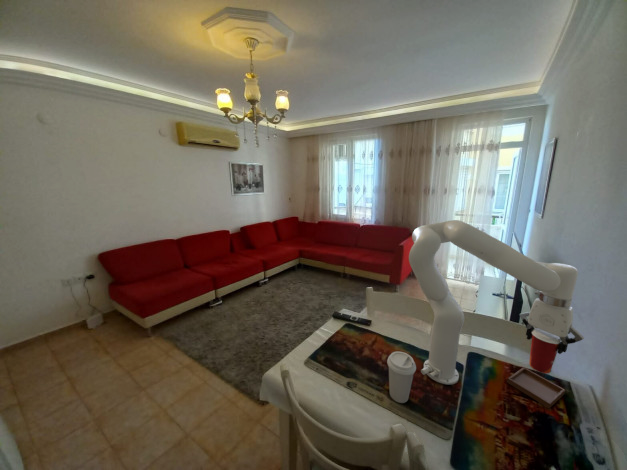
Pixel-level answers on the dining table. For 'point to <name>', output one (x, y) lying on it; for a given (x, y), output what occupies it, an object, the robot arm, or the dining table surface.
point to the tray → (536, 387)
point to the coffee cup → (400, 375)
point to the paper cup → (543, 350)
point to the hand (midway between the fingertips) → (544, 344)
